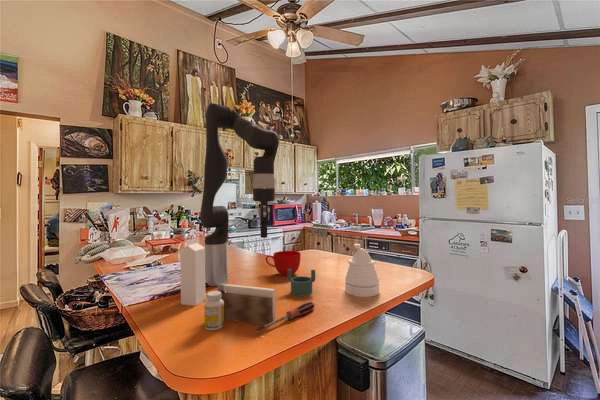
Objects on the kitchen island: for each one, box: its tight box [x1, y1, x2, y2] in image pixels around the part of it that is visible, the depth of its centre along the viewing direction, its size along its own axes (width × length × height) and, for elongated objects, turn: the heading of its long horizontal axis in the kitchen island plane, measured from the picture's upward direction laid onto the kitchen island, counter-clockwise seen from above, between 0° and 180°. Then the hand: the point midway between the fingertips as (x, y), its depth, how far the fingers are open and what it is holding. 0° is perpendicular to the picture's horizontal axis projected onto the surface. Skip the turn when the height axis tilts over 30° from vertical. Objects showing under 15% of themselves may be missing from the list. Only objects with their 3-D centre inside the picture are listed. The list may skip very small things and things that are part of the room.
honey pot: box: [344, 243, 380, 298], centre depth 113 cm, size 13×13×18 cm
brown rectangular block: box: [219, 291, 272, 326], centre depth 88 cm, size 19×4×8 cm, turn 71°
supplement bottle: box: [203, 290, 225, 332], centre depth 83 cm, size 5×5×10 cm
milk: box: [179, 238, 207, 307], centre depth 103 cm, size 6×6×22 cm
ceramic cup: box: [265, 250, 302, 277], centre depth 139 cm, size 13×17×10 cm
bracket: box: [287, 269, 316, 297], centre depth 113 cm, size 9×9×9 cm
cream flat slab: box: [216, 283, 276, 322], centre depth 89 cm, size 19×3×9 cm, turn 71°
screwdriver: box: [254, 301, 315, 332], centre depth 87 cm, size 25×3×3 cm, turn 139°
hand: (263, 237), depth 101 cm, fingers closed
